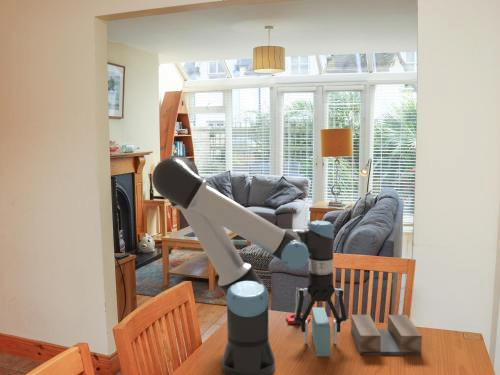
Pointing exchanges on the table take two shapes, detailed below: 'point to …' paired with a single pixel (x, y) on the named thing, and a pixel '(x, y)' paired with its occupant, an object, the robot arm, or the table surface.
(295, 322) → the tow hook
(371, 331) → the grey grooved block
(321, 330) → the teal beam
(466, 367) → the table surface
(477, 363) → the table surface
